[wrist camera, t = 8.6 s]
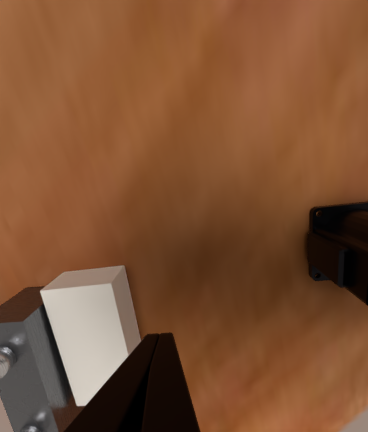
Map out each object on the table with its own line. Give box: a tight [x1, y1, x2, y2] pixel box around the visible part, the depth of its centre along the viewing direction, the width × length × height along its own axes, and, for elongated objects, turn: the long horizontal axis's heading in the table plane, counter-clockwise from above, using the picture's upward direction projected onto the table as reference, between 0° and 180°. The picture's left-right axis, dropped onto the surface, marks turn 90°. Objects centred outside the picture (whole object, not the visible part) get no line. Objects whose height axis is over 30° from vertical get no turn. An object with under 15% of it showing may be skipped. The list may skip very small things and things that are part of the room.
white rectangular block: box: [40, 265, 141, 406], centre depth 20 cm, size 6×12×4 cm, turn 8°
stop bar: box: [0, 286, 85, 432], centre depth 19 cm, size 4×14×6 cm, turn 7°
